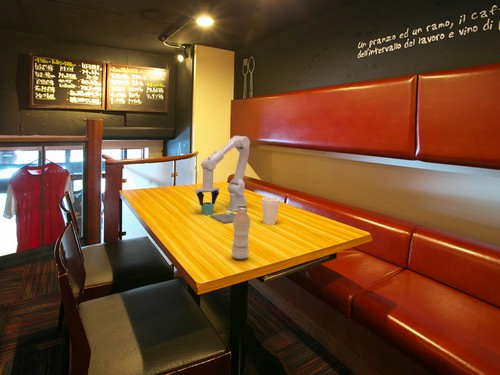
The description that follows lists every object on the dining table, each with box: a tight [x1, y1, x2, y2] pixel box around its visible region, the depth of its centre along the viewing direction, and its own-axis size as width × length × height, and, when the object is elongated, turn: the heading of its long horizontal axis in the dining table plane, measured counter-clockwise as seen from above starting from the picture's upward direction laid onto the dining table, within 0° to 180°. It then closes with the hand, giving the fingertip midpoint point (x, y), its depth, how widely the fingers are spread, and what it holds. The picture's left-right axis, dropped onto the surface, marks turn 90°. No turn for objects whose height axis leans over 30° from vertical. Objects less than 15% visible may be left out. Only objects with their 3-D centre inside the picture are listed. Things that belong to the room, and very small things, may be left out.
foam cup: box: [261, 196, 281, 226], centre depth 167 cm, size 10×9×13 cm
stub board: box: [209, 209, 237, 225], centre depth 173 cm, size 14×14×4 cm
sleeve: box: [200, 201, 215, 216], centre depth 180 cm, size 5×5×6 cm
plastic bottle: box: [231, 205, 252, 260], centre depth 119 cm, size 6×7×20 cm
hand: (207, 204), depth 180 cm, fingers open, 7 cm apart
